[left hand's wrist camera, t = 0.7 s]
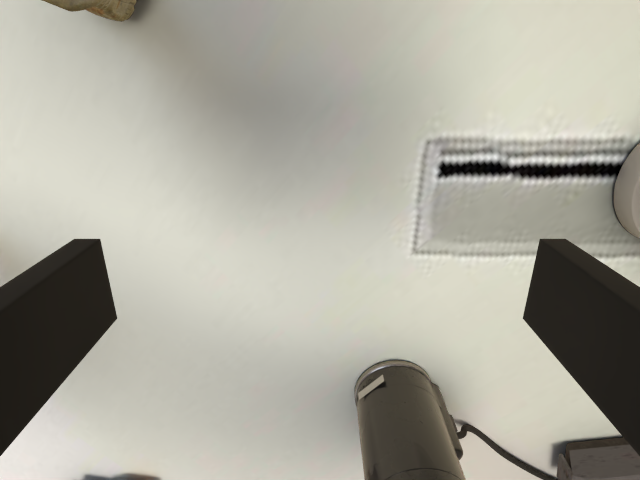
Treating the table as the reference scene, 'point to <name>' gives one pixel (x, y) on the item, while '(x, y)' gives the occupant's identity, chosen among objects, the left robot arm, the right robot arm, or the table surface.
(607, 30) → the table surface
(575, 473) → the toy
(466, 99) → the table surface
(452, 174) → the table surface
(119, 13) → the sculpture
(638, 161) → the bust sculpture
